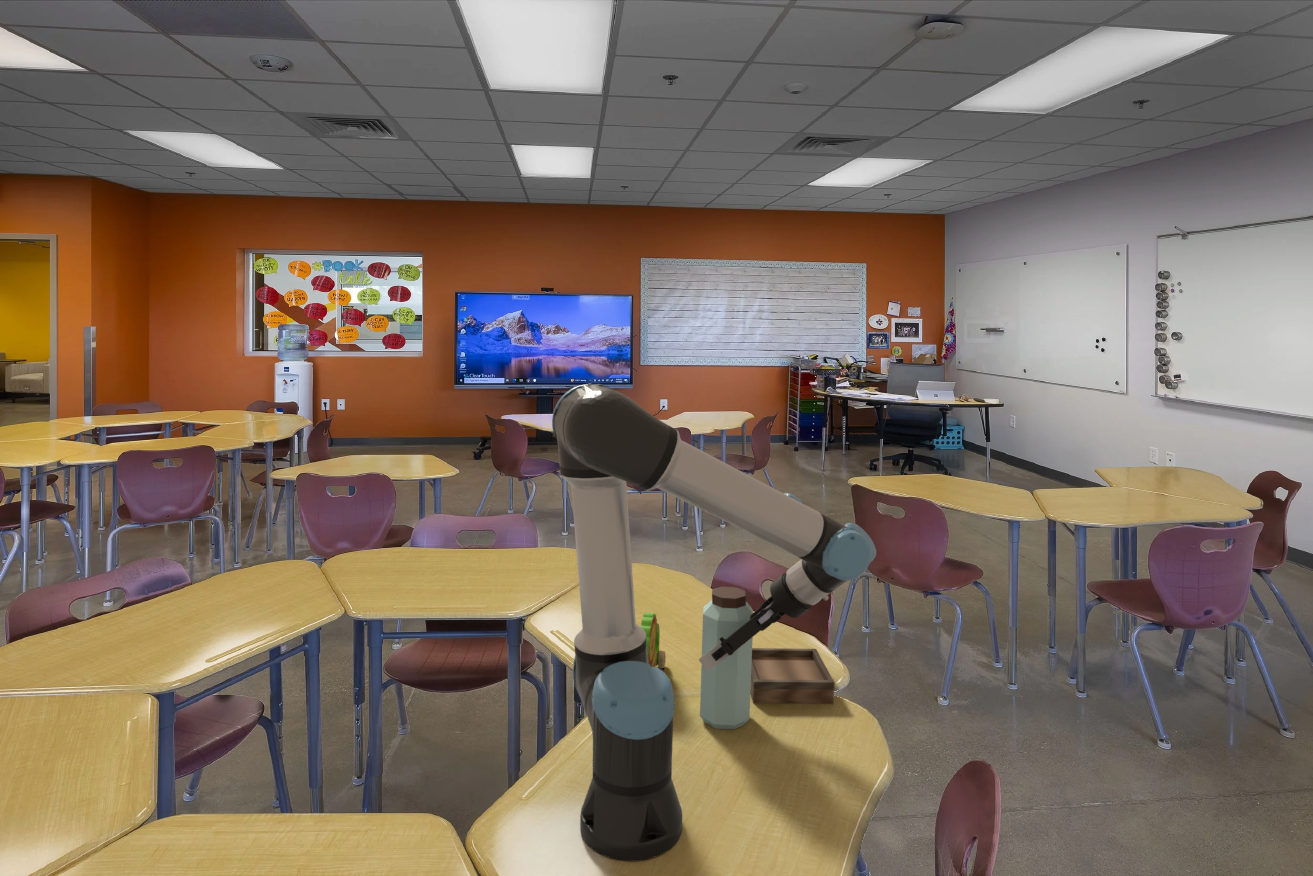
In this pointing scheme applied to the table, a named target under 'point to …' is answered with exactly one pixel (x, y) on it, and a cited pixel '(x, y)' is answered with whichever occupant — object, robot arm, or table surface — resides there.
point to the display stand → (790, 677)
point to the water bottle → (726, 661)
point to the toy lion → (653, 640)
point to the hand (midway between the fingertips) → (718, 651)
